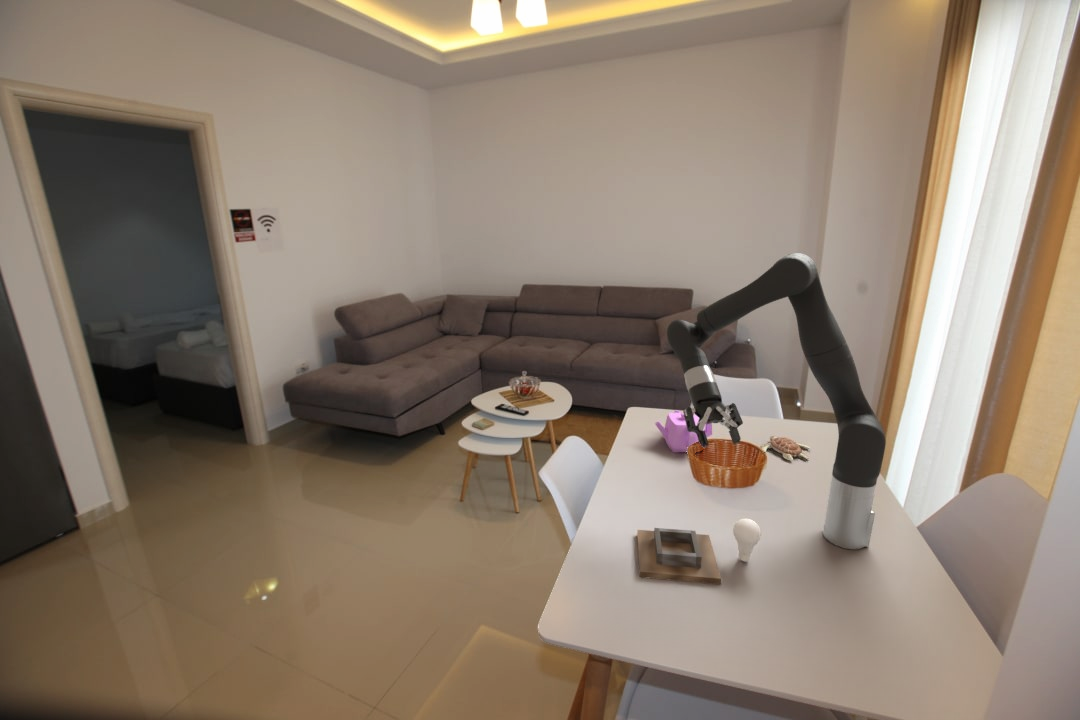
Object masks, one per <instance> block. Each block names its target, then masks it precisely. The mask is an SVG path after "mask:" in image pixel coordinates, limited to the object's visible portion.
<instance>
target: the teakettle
mask: <svg viewBox="0 0 1080 720" xmlns="http://www.w3.org/2000/svg"><path fill="white" fill-rule="evenodd" d="M693 417H694V421H695V425H696V426H697V423H698V420H699V417H698V416H697V415H695V413H694V416H693ZM654 425H655V426H656V427H657V429H658V430H659V432H660V433H661V435H662V436H663V438H664V440H665V444H666V445H667V447H668V448H669V449H670V451H671V452H673V453H675V452H685V453H684V454H686V451H687V447H689V446H690V445H692V444H694V443H696V442H698V441H699V440H698V437H697V434H696V433H695V432H689V431H688V430H687V426H686V421H685V417H684V413H683V412H680V410H677V409H676V410H674V412H669V413H667V416H666V419H665V424H664V425H663V424H662V423H661V421H659V420H658V421H655V422H654ZM703 431H705V434H706V437H707V438H708V437H710V436H712V435H713V423H710V424H707V423H706V424H705V426H704V429H703Z"/></svg>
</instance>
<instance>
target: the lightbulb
mask: <svg viewBox="0 0 1080 720" xmlns="http://www.w3.org/2000/svg"><path fill="white" fill-rule="evenodd" d="M732 533H733V536H734V539H735V540H736V542H737V550H738V559H739V560H740V561H742V562H749V561H750V559H751V554H752V553H753V550H754V547H755V546H756V545H757V544H758V542H759V541H760V540H761V537H762V531H761V528H760V526H759V524H758V523H756V522H755V521H754V520H752V519H750V518H740V519H739V520H737V521H736V522H735V523H734V524H733V528H732Z"/></svg>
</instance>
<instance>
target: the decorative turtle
mask: <svg viewBox="0 0 1080 720" xmlns="http://www.w3.org/2000/svg"><path fill="white" fill-rule="evenodd" d="M769 441H770V442H767V443H764V444H761V445H760V446H759V447H760V448H761V449H763V450H764V451H765V453H764V454H766V452H767V450H768V448H770V447H771V448H772V449H773V450H774V451H776V452H778V453H779V454H780V455H782V457H783V458H784V459H785V460H787V461H793V460H794V458H793V457H797V456H801V457H802V458H803V459H805V460H809V459H810V456H809V455H808V453H805V452H803V449H802V448H804V449H807V450H810V449H811V447H810V446H808V445H806V444H803V443H801V442H796V441H794V440H792V439H790V438H788V437H783V436H781V437H780V436H779V437H777V436H776V435H771V436H770V437H769Z"/></svg>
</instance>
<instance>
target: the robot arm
mask: <svg viewBox="0 0 1080 720" xmlns="http://www.w3.org/2000/svg"><path fill="white" fill-rule="evenodd" d="M785 298H788V300H789V302H790V304H791V306H792V309H793V311H794V314H795V317H796V323H797V330H798V337H799V341H800V346H801V350H802V353H803V355H804V358H805V360H806V362H807V365H808V367H809V369H810V371H811V373H812V374H813V377H814V378H815V380H816V381H817V384H819V386H820V388H821V389H822V390H823V392H825V394H826V396H827V398H828V400H829V402H830V405H831V408H832V410H833V413H834V416H835V420H836V424H837V429H838V437H837V438H838V439H837V440H838V441H837V446H836V451H835V452H836V453H835V459H834V463H833V466H832V472H831V479H830V487H829V493H828V499H827V505H826V511H825V518H824V524H823V530H822V535H823V536H824V538H825V539H826V540H827V541H829V542H830V543H831V544H833V545H835V546H838V547H841V548H843V549H847V550H861V549H862V548H869V547H870V542H871V537H872V532H873V526H874V521H875V516H876V513H875V512H874V511H873V505H874V498H875V492H876V487H877V481H878V478H879V477H880V474H881V470H882V465H883V460H884V456H885V450H886V444H887V443H886V435H885V432H884V429H883V425H882V424H881V422H880V420H879V419H878V417H877V416H876V414H875V412H874V410H873V409H872V407H871V404H869V402H868V400H867V398H866V396H865V394H864V391H863V388H862V386H861V381H860V378H859V377H860V376H859V374H858V371H857V367H856V364H855V360H854V357H853V355H852V352H851V350H850V348H849V345H848V343H847V341H846V338H845V336H844V334H843V332H842V329H841V328H840V326H839V323H838V321H837V319H836V317H835V315H834V313H833V312H832V309H831V308H830V306H829V304H828V301H827V299H826V296H825V293H824V289H823V285H822V283H821V279H820V275H819V271H818V268H817V265H816V262H815V261H814V260H813V259H812V258H811V257H809V255H806V254H805V253H800V252H793V253H789V254H787V255H785V256H783V257H782V258H780V259H778V260H777V261H776V262H775V263H773V264H772V266H770V268H769V269H767V271H765V272H764V273H763V274H761V275H760V276H759V277H758V278H756V279H755V280H753V281H752V282H750V283H749V284H747V285H746V286H744V287H743V288H741V289H739V290H736V291H735V292H732V293H730V294H728V295H726V296H724V297H722V298H720V299H718V300H717V301H715V302H713V303H712V304H709V305H708V306H706V307H705V308H703V309H701V310H700V311H699V312H698V313H697V315H696V321H695V322H693V323H691V322H689V321H686V320H684V319H675V320H672V321H671V322H670V323H669V324H668V326H667V329H666V338H667V341H668V344H669V346H670V348H671V349H672V351H673V353H674V355H675V356H676V358H677V359H678V361H679V364H680V367H681V369H682V374H683V377H684V381H685V385H686V386H685V387H686V389H687V391H688V395H689V398H690V401H691V404H692V406H693V407H691V406H687V407H686V408H685V409H684V410H683V412H682V413H684V417H685V421H686V426H687V430H688V431H689V432H695V433H696V434H697V437H698V440H699V443H700V445H702V447H703V448H704V449H705V448H707V447H708V446H709V445H710V443H709V439H708V437H706V434H705V431H703V429H704V430H705V426H706V423H707V424H710V423H712V424H718V423H719V424H720V425H721V426H724V427H725V428H726V429H728V433H729V436H730V438H731V442H732V444H733V445H738V444H739V443H741V436H740V433H739V429H738V428H739V427H740V426H741V425H743V423H744V421H743V418H742V417H741V415H740V412H739V409H738V407H737V405H736V403H734V402H732V403H731V404H728V405H725V403H723V398H722V395H721V392H720V389H719V385H718V383H717V381H716V377H715V375H714V372H713V371H712V369H711V366H710V363H709V361H708V358H707V355H706V353H705V352H704V350H702V349H701V348H699V346H701V345H703V344H704V343H705V342H706V341H707V340H708V339H709V338H710V337H711V336H713V334H715V333H716V332H718V331H720V330H722V329H723V328H726V327H728V326H729V325H731V324H733V323H735V322H737V321H738V320H740V319H742V318H744V317H745V316H747V315H748V314H750V313H752V312H754V311H755V310H757V309H760V308H762V307H764V306H766V305H768V304H771V303H773V302H776V301H779V300H781V299H785ZM694 414H695V415H697V416H698V417H699V420H698V423H697V426H696V425H695V421H694V417H693V416H694Z"/></svg>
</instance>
